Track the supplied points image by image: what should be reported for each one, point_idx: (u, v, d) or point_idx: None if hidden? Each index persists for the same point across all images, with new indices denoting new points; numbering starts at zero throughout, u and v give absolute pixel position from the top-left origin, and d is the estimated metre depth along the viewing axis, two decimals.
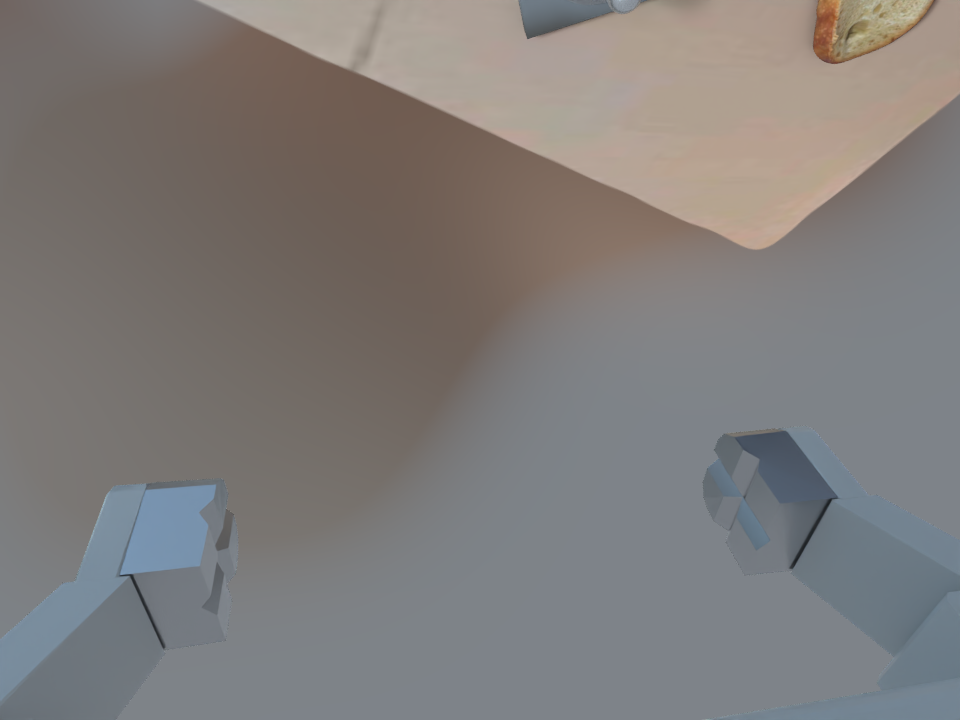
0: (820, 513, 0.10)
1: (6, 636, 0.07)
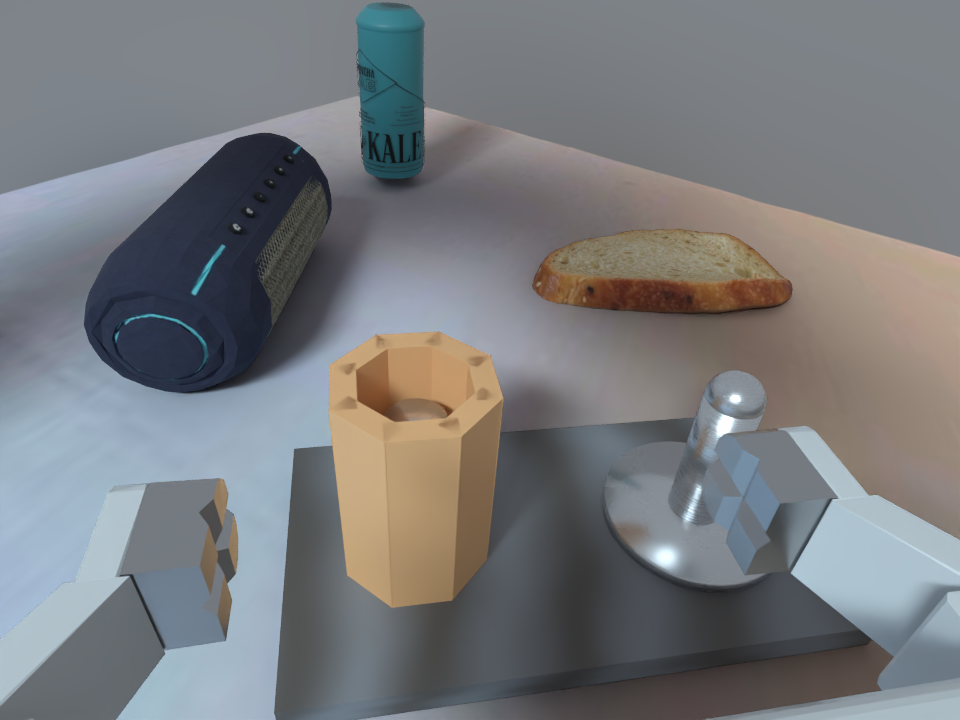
0: (820, 513, 0.10)
1: (6, 636, 0.07)
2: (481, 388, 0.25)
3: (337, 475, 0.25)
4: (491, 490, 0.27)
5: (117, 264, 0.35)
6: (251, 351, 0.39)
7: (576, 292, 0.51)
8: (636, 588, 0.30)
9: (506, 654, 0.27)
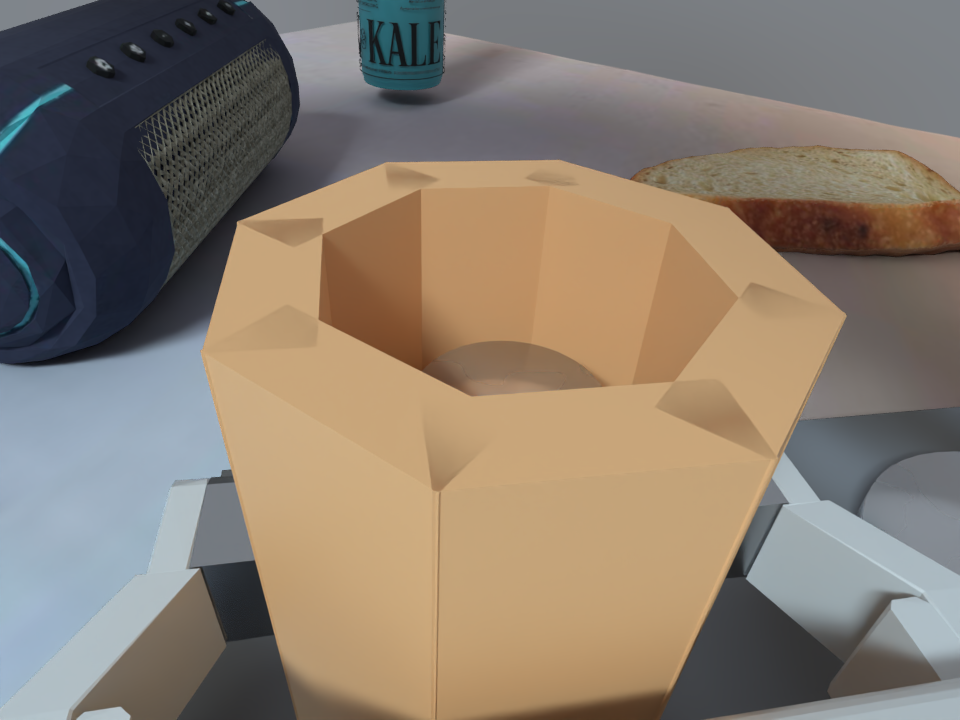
0: (771, 518, 0.10)
1: (85, 627, 0.07)
2: (751, 285, 0.07)
3: (264, 580, 0.08)
4: (714, 600, 0.10)
5: None
6: (129, 289, 0.22)
7: None
8: None
9: None
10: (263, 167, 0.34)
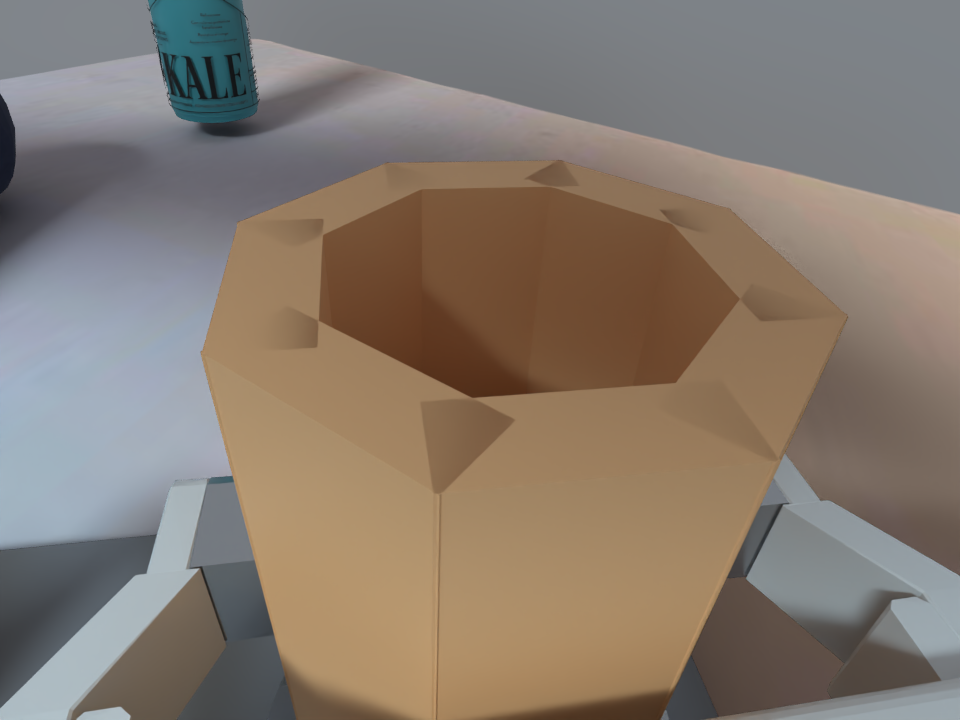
0: (771, 518, 0.10)
1: (85, 627, 0.07)
2: (752, 286, 0.07)
3: (264, 581, 0.08)
4: (714, 601, 0.10)
5: None
6: None
7: None
8: None
9: None
10: None
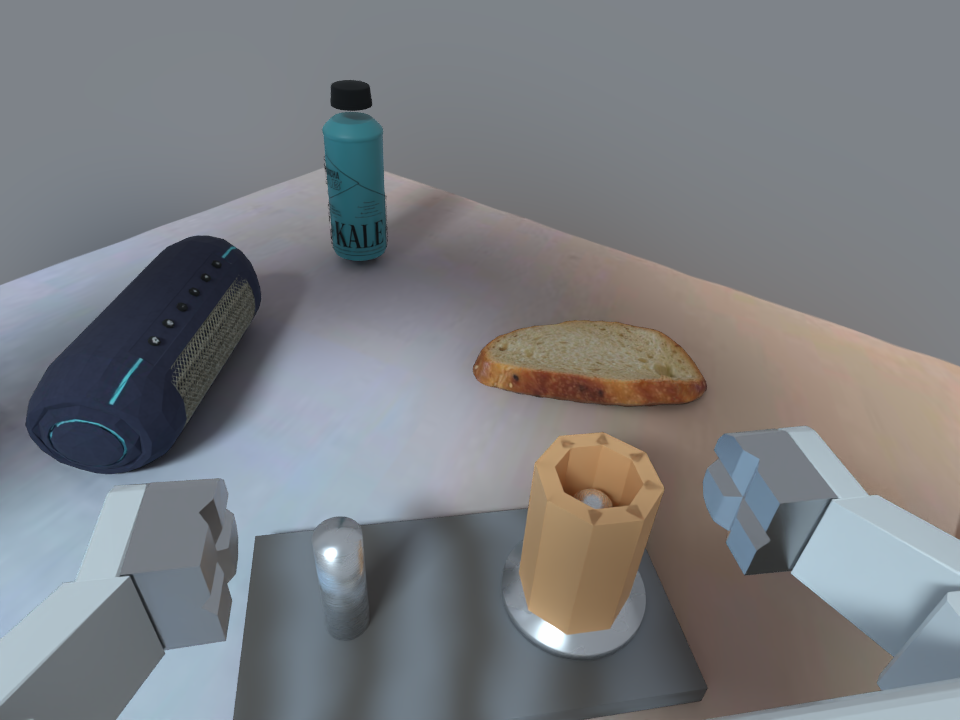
0: (820, 513, 0.10)
1: (6, 636, 0.07)
2: (646, 480, 0.35)
3: (541, 542, 0.35)
4: (643, 549, 0.37)
5: (51, 378, 0.44)
6: (165, 442, 0.48)
7: (504, 378, 0.59)
8: (518, 657, 0.38)
9: (409, 714, 0.35)
10: (237, 342, 0.60)
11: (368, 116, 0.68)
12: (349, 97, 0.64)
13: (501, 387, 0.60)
